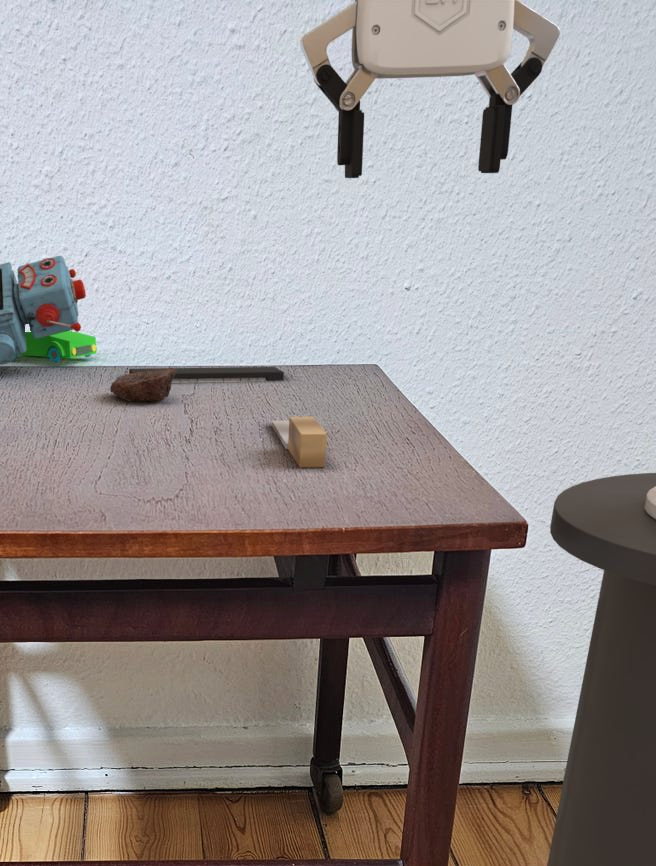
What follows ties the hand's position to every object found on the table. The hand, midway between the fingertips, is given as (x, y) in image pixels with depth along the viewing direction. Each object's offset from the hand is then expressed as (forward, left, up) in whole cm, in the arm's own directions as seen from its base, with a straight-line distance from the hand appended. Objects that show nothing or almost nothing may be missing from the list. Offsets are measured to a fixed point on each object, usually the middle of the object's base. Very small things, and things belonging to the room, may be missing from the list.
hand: (420, 175), depth 84 cm
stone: (+19, -38, -22) cm, 48 cm away
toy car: (+30, -65, -22) cm, 75 cm away
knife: (+5, -16, -22) cm, 28 cm away
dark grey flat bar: (+11, -48, -22) cm, 54 cm away
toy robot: (+54, -58, -21) cm, 82 cm away
